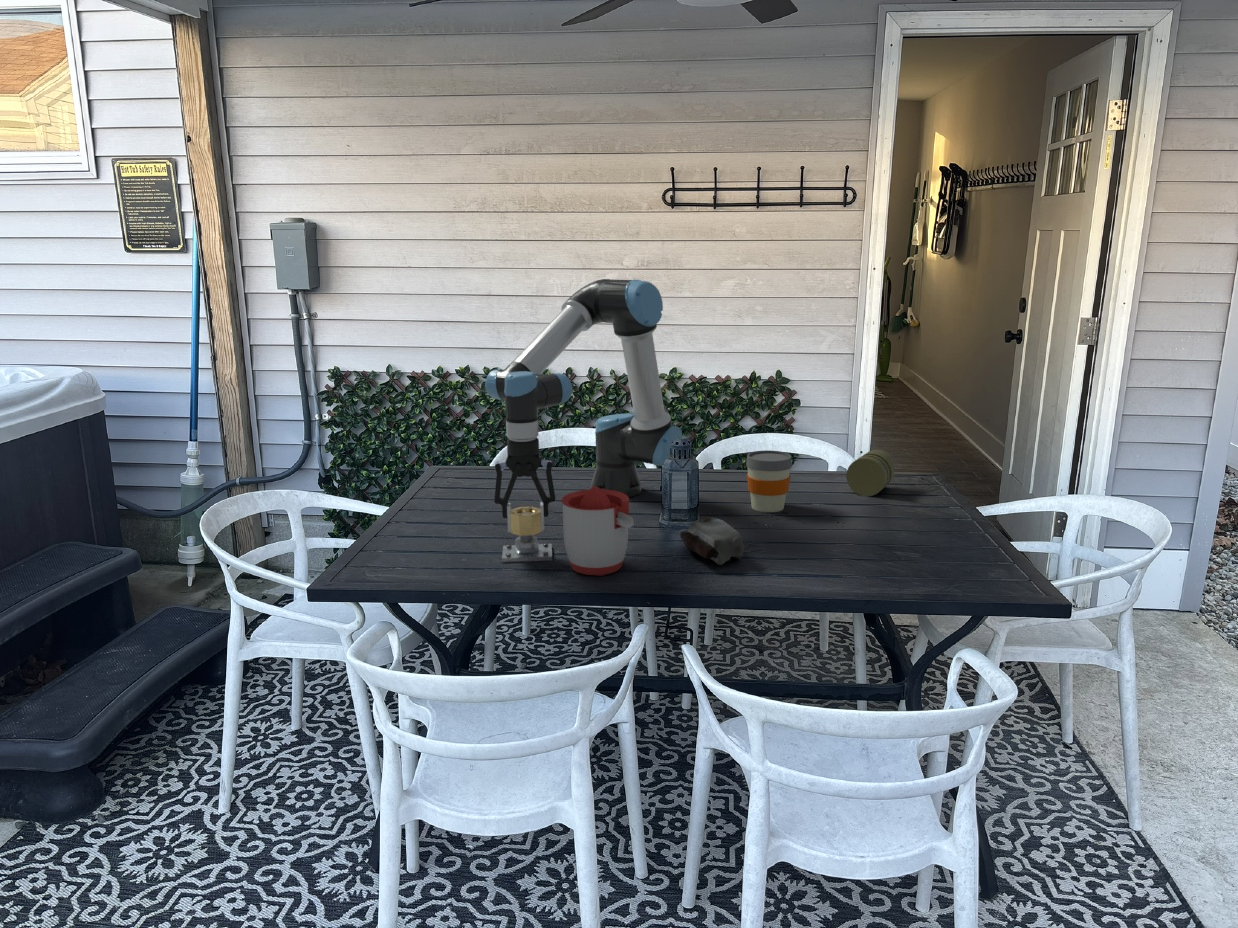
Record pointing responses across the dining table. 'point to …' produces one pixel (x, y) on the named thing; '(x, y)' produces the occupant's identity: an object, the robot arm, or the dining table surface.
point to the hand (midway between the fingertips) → (526, 529)
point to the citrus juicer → (596, 530)
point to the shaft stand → (527, 549)
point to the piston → (871, 473)
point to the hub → (525, 521)
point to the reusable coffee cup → (768, 479)
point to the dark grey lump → (713, 540)
